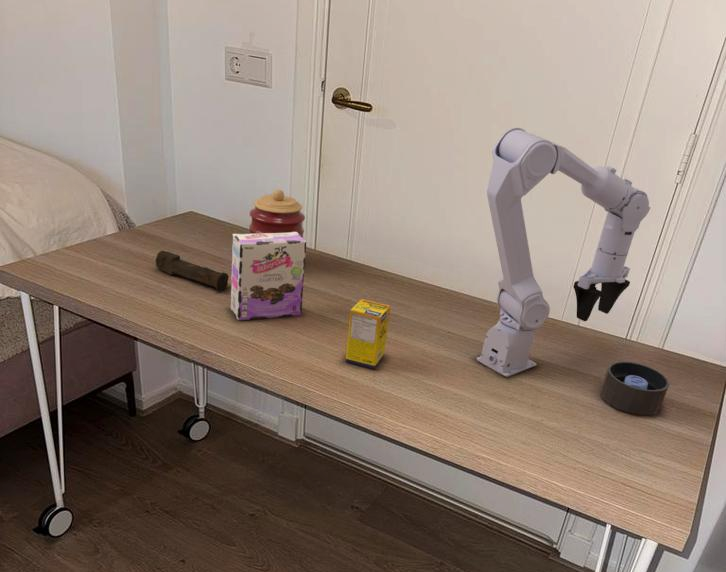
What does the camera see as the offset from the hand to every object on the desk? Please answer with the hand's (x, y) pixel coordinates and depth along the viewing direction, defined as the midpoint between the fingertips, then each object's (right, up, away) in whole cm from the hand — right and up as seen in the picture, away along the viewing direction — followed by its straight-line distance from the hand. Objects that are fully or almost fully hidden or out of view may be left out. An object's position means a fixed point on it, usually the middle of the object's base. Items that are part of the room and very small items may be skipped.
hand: (592, 315), depth 143 cm
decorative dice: (+4, -17, -9) cm, 20 cm away
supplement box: (-46, -9, -7) cm, 47 cm away
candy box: (-66, +1, +6) cm, 66 cm away
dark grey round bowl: (+4, -17, -9) cm, 20 cm away
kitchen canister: (-67, +17, +31) cm, 76 cm away
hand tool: (-85, +10, +16) cm, 87 cm away
